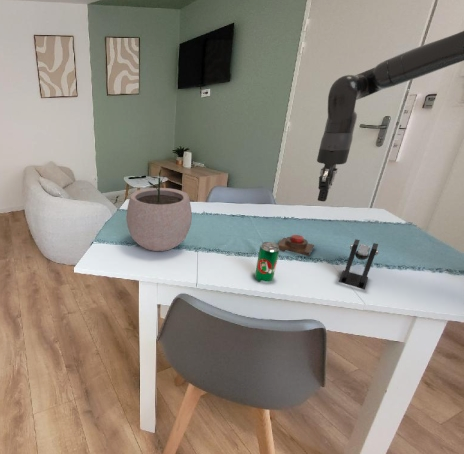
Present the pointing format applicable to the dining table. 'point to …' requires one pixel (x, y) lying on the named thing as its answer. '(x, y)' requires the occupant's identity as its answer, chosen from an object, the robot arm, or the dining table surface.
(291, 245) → the button housing
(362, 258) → the press lever
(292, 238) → the button
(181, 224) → the plant pot
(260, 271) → the soda can
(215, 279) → the dining table surface
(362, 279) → the lever bracket
